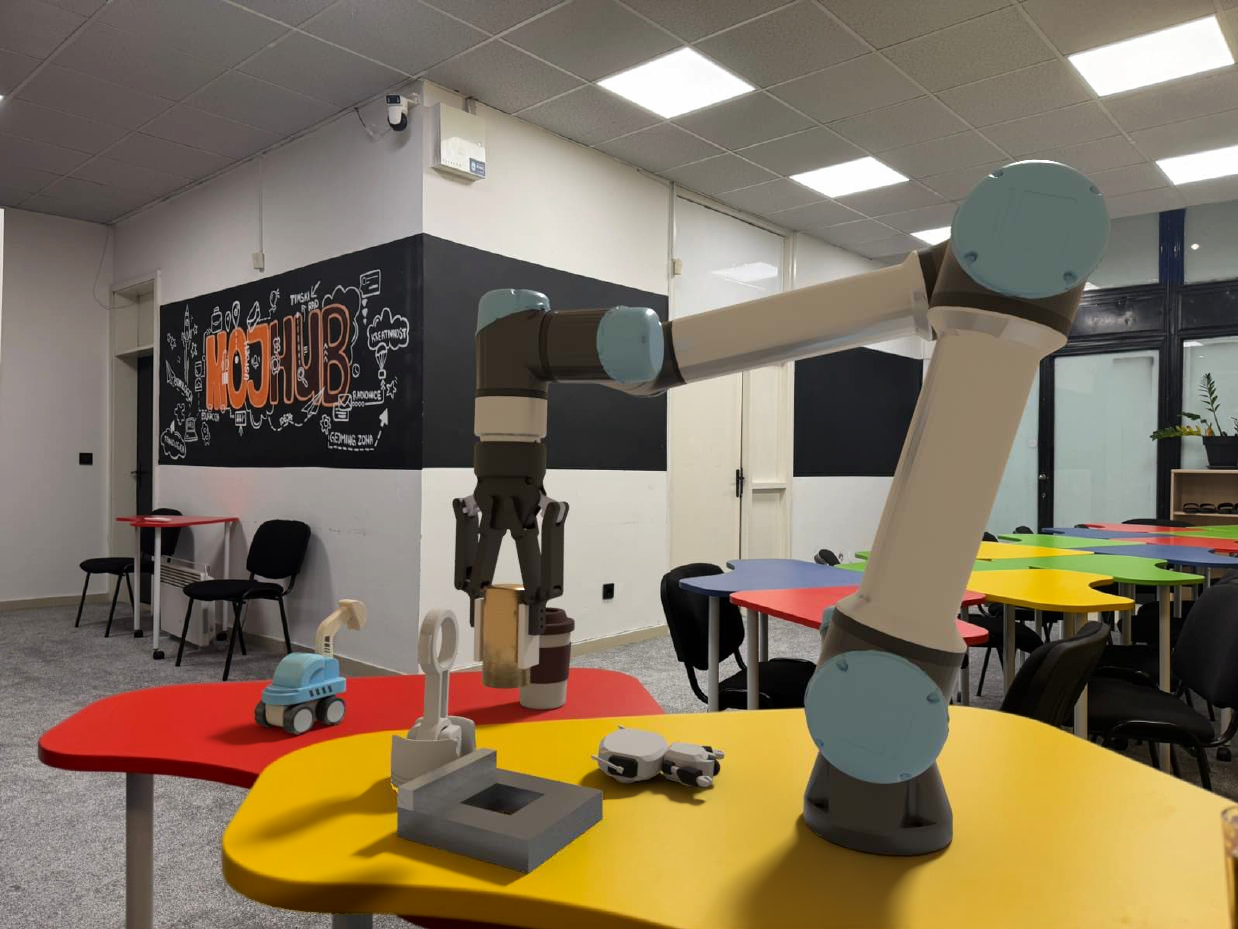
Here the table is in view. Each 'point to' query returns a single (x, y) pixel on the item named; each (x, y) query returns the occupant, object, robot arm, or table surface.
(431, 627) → the engine component
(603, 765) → the robot toy
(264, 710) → the toy excavator
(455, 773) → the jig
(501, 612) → the copper cylinder rod
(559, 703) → the coffee cup
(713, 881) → the table surface
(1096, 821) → the table surface
